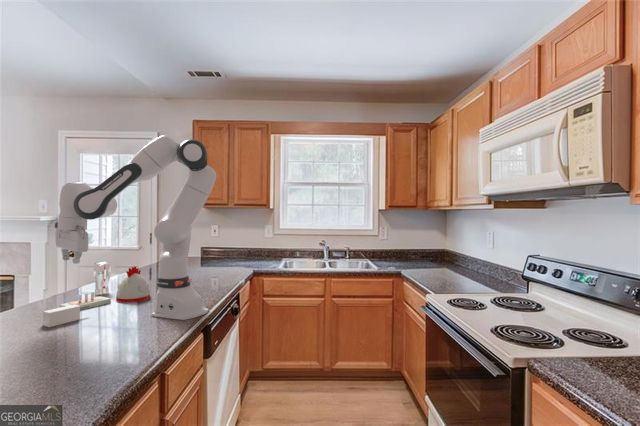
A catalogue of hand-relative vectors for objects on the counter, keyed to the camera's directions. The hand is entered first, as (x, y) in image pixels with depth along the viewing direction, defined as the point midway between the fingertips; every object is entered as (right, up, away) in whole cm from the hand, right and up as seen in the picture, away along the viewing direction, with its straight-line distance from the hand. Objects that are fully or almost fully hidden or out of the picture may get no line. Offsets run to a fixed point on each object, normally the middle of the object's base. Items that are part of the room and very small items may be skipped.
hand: (70, 261), depth 127 cm
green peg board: (-6, -22, +17) cm, 28 cm away
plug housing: (0, -22, -2) cm, 22 cm away
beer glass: (-13, -21, +38) cm, 46 cm away
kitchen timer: (+7, -22, +31) cm, 38 cm away
